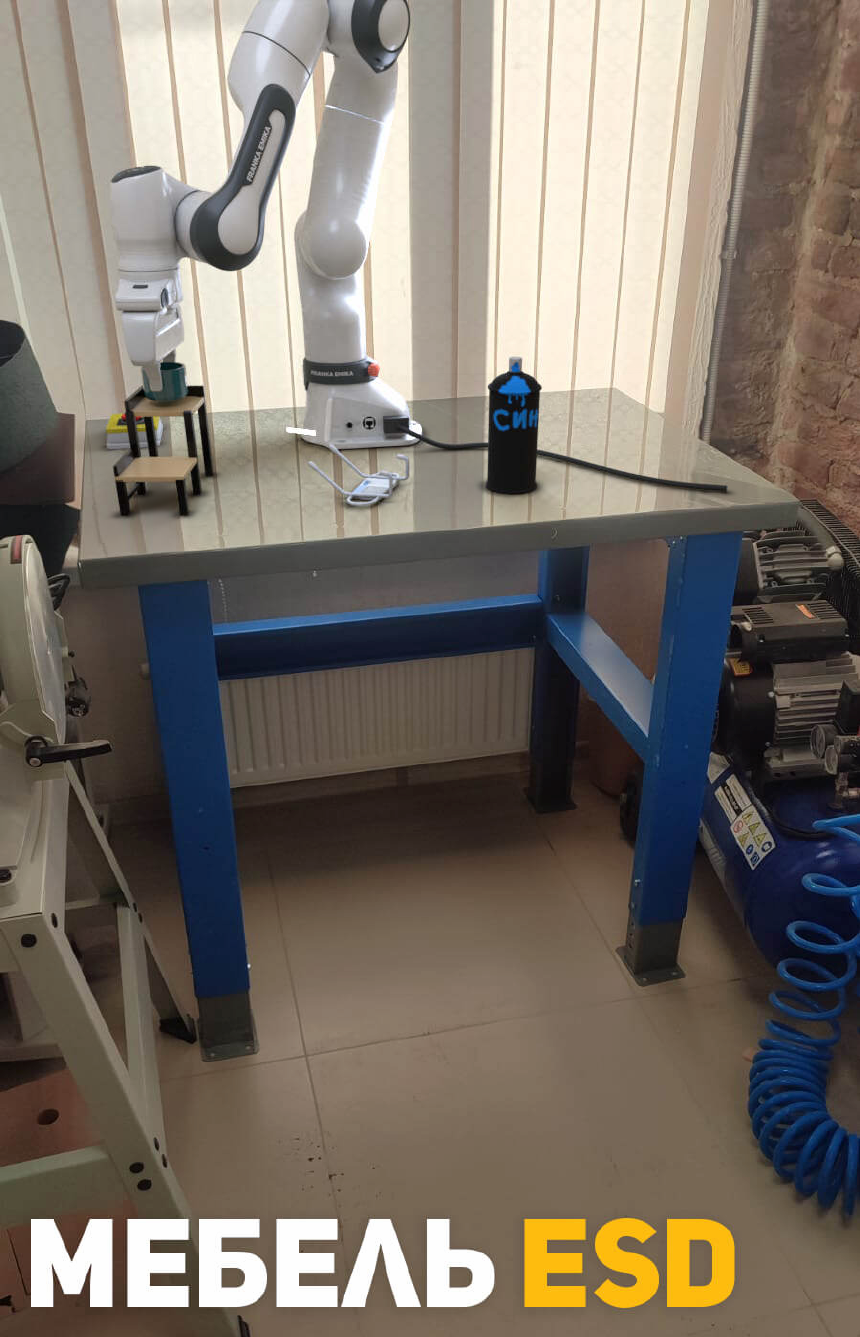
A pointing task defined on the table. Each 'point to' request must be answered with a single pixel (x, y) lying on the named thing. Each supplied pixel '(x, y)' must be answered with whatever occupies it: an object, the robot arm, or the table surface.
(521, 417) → the aerosol can
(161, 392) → the cup
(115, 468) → the rack
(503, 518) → the table surface
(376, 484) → the wall mount rack
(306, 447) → the table surface
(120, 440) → the emergency button
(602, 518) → the table surface
